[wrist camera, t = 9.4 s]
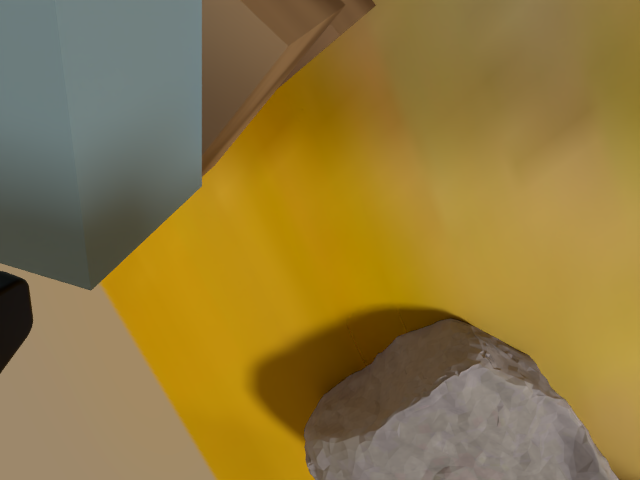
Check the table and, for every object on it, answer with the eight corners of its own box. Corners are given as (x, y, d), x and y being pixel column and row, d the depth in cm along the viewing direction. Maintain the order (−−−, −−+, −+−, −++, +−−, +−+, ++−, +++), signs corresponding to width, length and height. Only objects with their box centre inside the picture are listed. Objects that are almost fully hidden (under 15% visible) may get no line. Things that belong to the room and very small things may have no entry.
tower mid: (147, -190, 14) (22, -207, 10) (345, 4, 14) (288, 45, 11) (49, 17, 17) (-68, 54, 14) (214, 164, 18) (141, 232, 14)
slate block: (202, -69, 11) (50, -40, 7) (201, 185, 13) (90, 290, 10) (-41, -109, 11) (-272, -99, 8) (6, 136, 14) (-154, 216, 11)
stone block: (464, 265, 24) (296, 402, 28) (475, 333, 19) (274, 484, 23) (656, 446, 26) (475, 549, 30) (705, 544, 22) (486, 649, 25)
